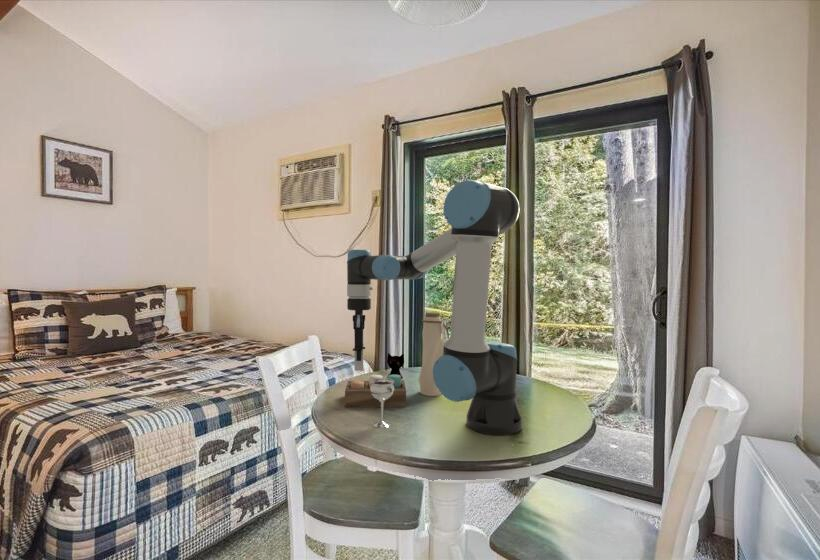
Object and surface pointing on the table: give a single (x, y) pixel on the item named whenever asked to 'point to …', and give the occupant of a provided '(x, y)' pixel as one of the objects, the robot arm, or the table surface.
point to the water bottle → (431, 351)
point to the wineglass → (382, 396)
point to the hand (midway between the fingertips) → (358, 370)
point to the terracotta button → (357, 384)
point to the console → (366, 399)
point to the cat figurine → (395, 364)
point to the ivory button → (374, 378)
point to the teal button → (396, 380)
